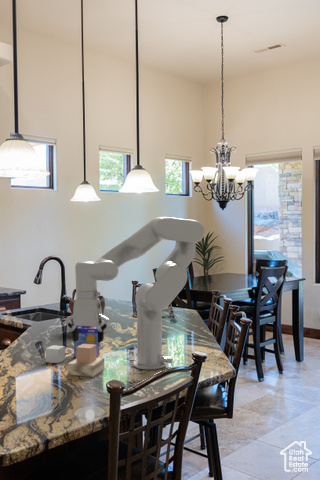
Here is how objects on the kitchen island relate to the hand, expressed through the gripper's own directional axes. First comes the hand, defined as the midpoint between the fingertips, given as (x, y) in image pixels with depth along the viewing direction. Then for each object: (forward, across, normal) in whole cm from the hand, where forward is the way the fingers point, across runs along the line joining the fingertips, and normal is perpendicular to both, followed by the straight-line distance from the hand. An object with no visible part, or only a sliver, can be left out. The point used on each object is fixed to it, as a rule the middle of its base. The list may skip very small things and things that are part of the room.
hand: (88, 341), depth 177 cm
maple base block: (+11, +1, +1) cm, 11 cm away
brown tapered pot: (+12, +30, -63) cm, 71 cm away
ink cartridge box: (+12, +10, -19) cm, 25 cm away
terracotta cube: (+7, +1, 0) cm, 7 cm away
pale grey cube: (+11, +19, -9) cm, 24 cm away
